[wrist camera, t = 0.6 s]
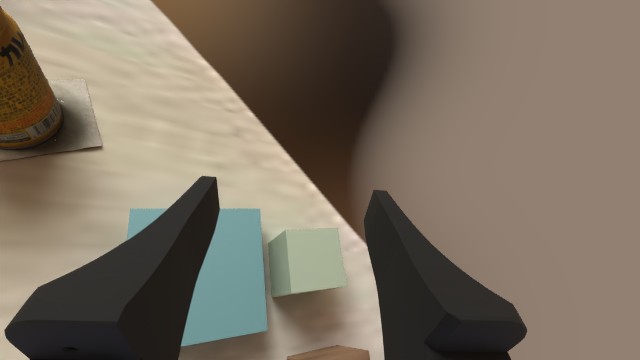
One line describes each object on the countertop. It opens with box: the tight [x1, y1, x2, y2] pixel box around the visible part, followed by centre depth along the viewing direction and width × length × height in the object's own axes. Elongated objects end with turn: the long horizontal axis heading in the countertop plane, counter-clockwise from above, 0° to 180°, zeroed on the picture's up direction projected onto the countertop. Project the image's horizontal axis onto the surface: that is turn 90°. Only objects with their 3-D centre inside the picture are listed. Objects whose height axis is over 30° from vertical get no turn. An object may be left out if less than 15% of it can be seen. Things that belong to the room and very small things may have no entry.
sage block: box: [268, 228, 347, 297], centre depth 27 cm, size 5×5×6 cm
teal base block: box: [127, 209, 267, 347], centre depth 24 cm, size 10×10×4 cm
